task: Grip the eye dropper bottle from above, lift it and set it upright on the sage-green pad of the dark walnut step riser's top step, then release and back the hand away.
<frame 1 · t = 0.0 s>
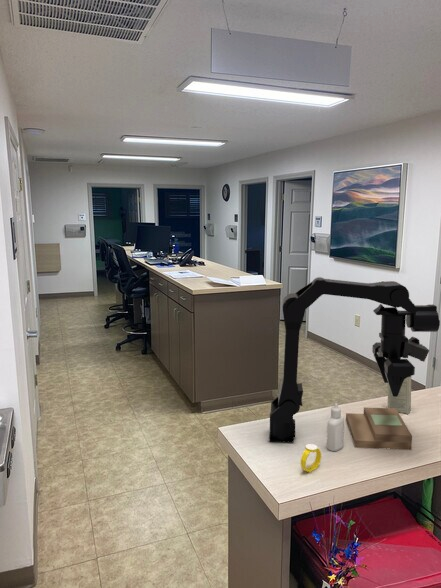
hand: (390, 389, 113), 15 cm above the counter, tool pointing down, fingers open, 9 cm apart
watch: (311, 470, 104), on the counter
skincare box: (398, 410, 135), on the counter
step riser: (376, 433, 120), on the counter
eye dropper bottle: (335, 447, 114), on the counter
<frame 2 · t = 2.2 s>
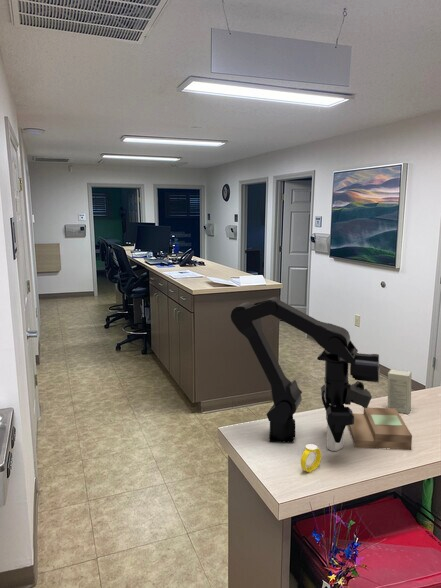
hand: (335, 434, 113), 4 cm above the counter, tool pointing down, fingers closed on eye dropper bottle, 8 cm apart
eye dropper bottle: (335, 447, 114), on the counter, touching gripper
everything else where it was.
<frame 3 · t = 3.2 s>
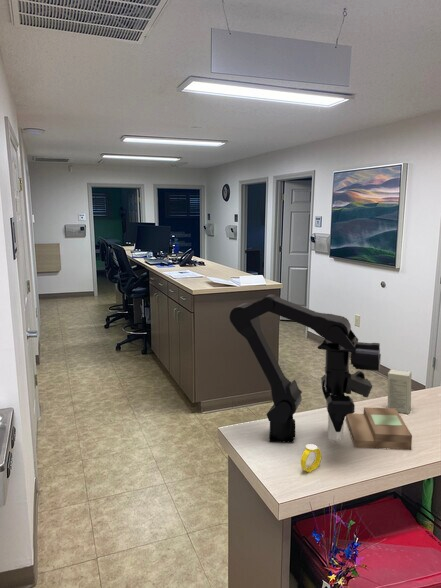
hand: (335, 423, 113), 6 cm above the counter, tool pointing down, fingers closed on eye dropper bottle, 8 cm apart
eye dropper bottle: (335, 437, 114), point 3 cm above the counter, touching gripper
everything else where it was.
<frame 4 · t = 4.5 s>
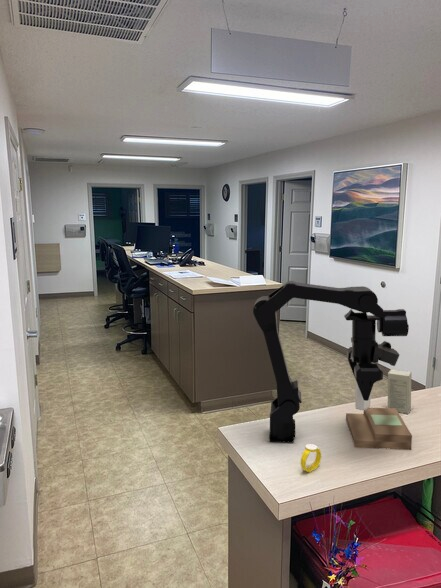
hand: (363, 393, 114), 13 cm above the counter, tool pointing down, fingers closed on eye dropper bottle, 8 cm apart
eye dropper bottle: (362, 407, 115), point 10 cm above the counter, touching gripper
everything else where it was.
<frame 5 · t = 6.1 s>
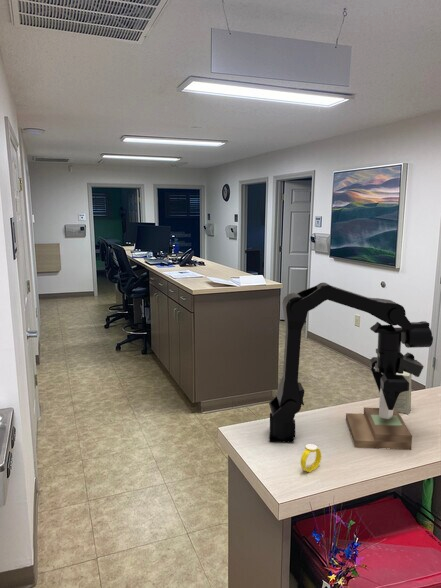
hand: (386, 402, 118), 9 cm above the counter, tool pointing down, fingers closed on eye dropper bottle, 8 cm apart
eye dropper bottle: (386, 415, 119), point 5 cm above the counter, touching gripper
everything else where it was.
when the fingers open (9 cm above the counter, at t = 7.1 s): eye dropper bottle drops 1 cm, resting on step riser.
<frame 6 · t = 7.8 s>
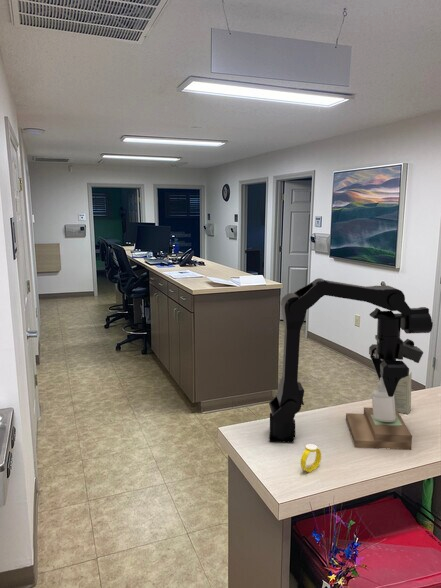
hand: (386, 389, 118), 13 cm above the counter, tool pointing down, fingers open, 9 cm apart
eye dropper bottle: (384, 420, 119), point 4 cm above the counter, touching step riser
everything else where it was.
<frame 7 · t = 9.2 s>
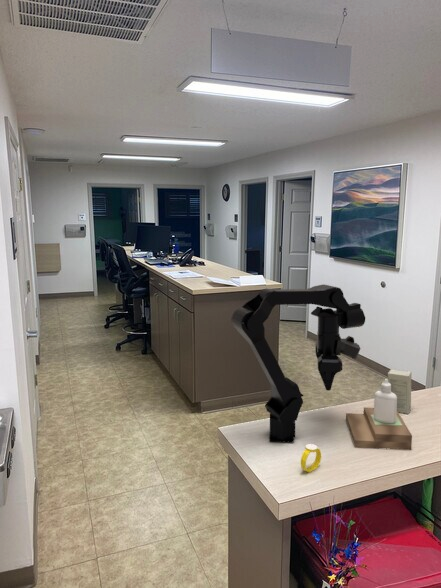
hand: (327, 384, 123), 13 cm above the counter, tool pointing down, fingers open, 9 cm apart
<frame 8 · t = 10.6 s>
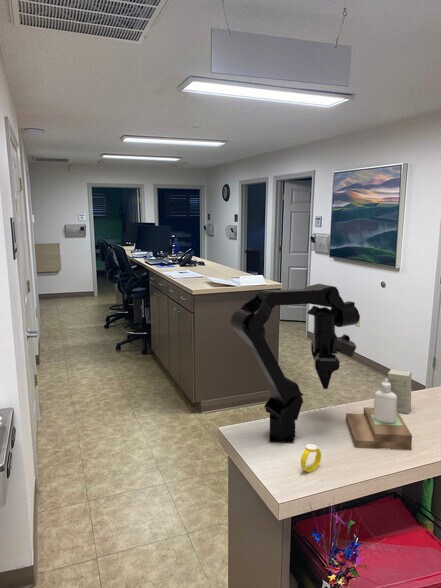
hand: (323, 382, 124), 13 cm above the counter, tool pointing down, fingers open, 9 cm apart
nothing on the counter moved.
at the end: eye dropper bottle 0.8 cm from the target spot on the step riser, point 4.0 cm above the step riser's base; eye dropper bottle tilted 0°; the gripper is holding nothing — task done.
